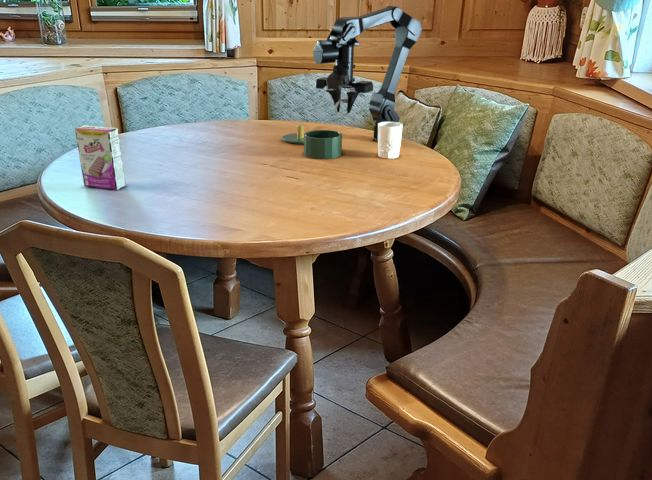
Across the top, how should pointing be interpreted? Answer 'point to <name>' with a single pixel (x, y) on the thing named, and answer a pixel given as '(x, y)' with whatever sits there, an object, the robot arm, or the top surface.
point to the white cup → (389, 139)
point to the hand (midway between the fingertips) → (343, 112)
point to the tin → (322, 144)
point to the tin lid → (295, 136)
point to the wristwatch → (341, 102)
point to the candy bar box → (100, 157)
